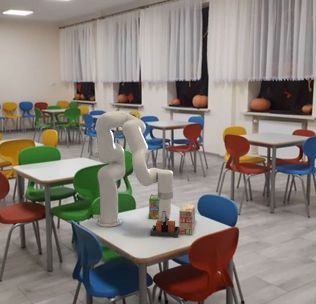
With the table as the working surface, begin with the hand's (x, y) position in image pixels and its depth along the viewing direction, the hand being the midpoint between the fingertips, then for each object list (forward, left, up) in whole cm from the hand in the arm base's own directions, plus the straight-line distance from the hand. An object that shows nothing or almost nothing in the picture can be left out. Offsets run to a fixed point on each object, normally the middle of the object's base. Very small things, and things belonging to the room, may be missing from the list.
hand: (165, 229), depth 210 cm
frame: (0, 0, -2) cm, 2 cm away
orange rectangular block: (0, 0, 0) cm, 0 cm away
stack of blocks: (+10, +10, -2) cm, 14 cm away
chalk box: (-8, +25, -2) cm, 26 cm away
